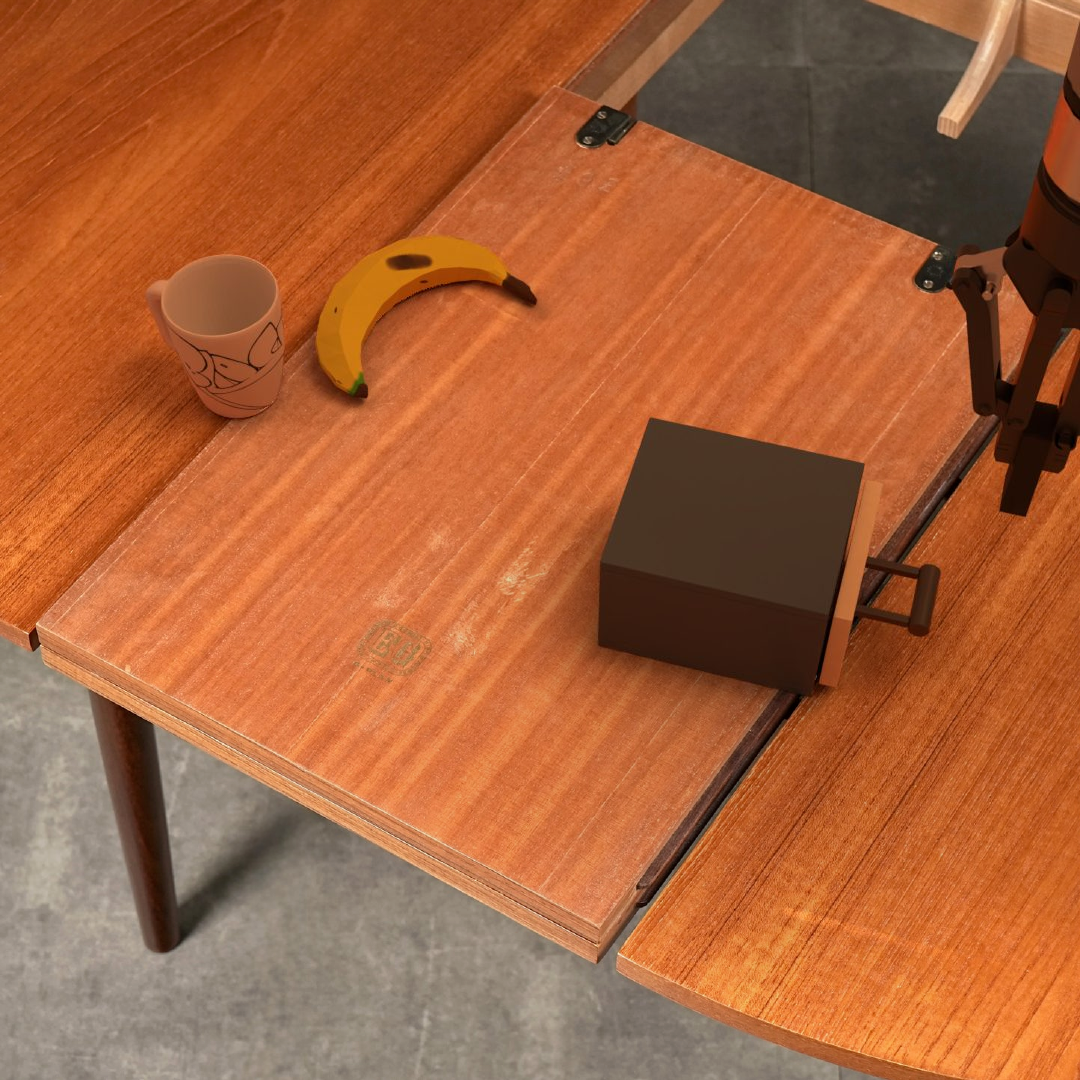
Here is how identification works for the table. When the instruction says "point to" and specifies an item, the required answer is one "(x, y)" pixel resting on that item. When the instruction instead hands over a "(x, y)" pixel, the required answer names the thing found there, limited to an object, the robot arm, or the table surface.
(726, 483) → the cabinet
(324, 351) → the banana
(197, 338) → the mug
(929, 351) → the table surface
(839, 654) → the drawer
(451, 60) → the table surface
